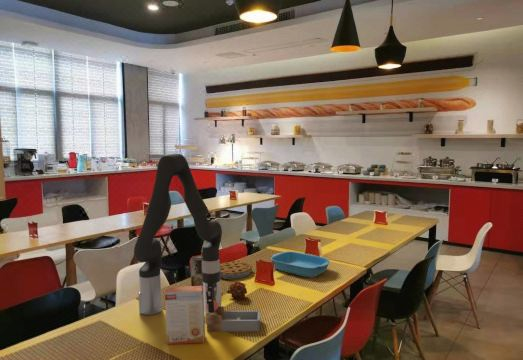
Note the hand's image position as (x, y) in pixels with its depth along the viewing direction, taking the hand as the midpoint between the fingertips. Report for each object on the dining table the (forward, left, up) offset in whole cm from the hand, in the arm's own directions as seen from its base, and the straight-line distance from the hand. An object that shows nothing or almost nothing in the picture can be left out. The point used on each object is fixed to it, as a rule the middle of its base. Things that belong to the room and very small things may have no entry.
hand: (212, 309), depth 164 cm
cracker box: (-9, -11, -8) cm, 16 cm away
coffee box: (-12, +43, -8) cm, 45 cm away
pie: (+3, +65, -8) cm, 65 cm away
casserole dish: (+42, +70, -8) cm, 82 cm away
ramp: (+2, 0, -7) cm, 8 cm away
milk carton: (-2, +15, -8) cm, 17 cm away
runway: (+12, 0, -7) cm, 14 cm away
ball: (0, 0, +2) cm, 2 cm away
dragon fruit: (+8, +30, -8) cm, 32 cm away
